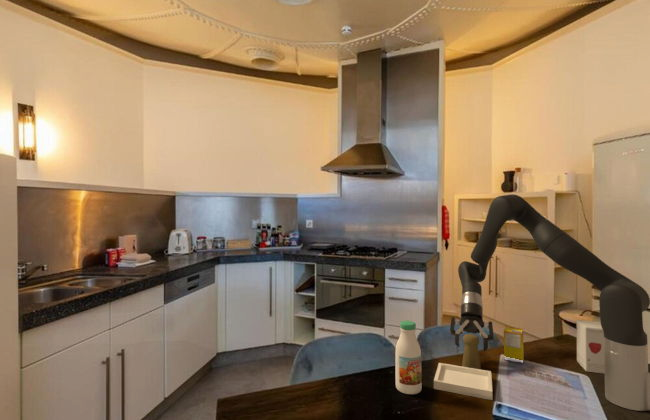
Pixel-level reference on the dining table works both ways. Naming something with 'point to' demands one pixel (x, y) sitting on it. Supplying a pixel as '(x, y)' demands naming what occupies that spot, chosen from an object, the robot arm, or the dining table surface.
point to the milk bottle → (408, 360)
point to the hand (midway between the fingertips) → (471, 348)
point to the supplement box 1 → (513, 343)
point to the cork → (471, 352)
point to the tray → (464, 381)
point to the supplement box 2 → (590, 346)
